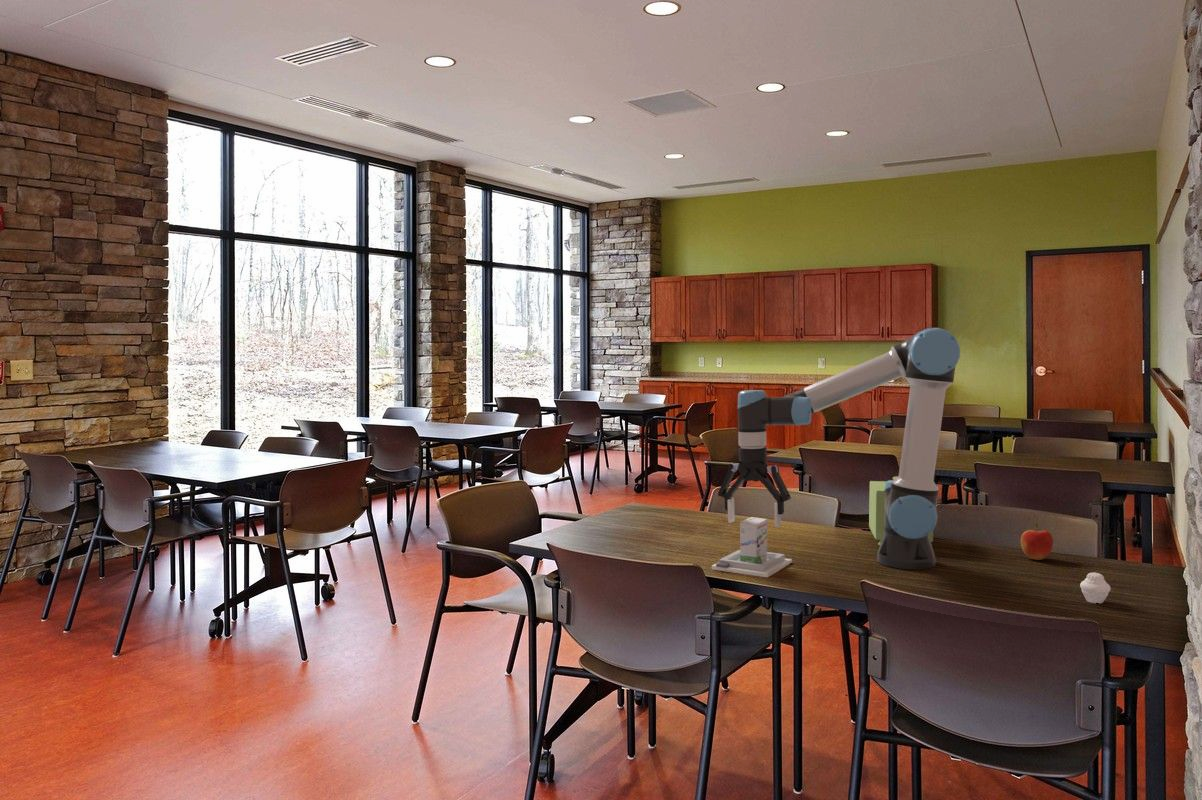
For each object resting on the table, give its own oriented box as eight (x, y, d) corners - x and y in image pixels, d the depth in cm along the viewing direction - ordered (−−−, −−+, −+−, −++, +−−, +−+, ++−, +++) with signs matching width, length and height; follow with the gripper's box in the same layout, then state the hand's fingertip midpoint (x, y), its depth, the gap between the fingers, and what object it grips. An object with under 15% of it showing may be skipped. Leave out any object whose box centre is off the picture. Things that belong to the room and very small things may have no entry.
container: (868, 533, 273) (869, 471, 272) (922, 535, 270) (923, 473, 269) (875, 547, 254) (876, 481, 253) (933, 549, 251) (934, 482, 250)
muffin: (1081, 604, 198) (1082, 574, 197) (1077, 596, 203) (1078, 567, 203) (1112, 606, 195) (1113, 576, 195) (1107, 599, 201) (1108, 570, 201)
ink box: (756, 567, 229) (756, 523, 228) (739, 564, 231) (739, 521, 231) (767, 560, 236) (768, 518, 235) (751, 558, 239) (751, 516, 238)
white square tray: (791, 562, 237) (791, 553, 237) (766, 577, 222) (767, 568, 222) (738, 555, 246) (738, 546, 246) (711, 569, 231) (711, 560, 230)
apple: (1022, 561, 237) (1023, 526, 236) (1018, 554, 244) (1019, 520, 244) (1054, 564, 234) (1055, 528, 233) (1050, 557, 241) (1051, 522, 241)
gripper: (801, 447, 228) (803, 525, 230) (716, 444, 242) (718, 518, 243) (791, 450, 222) (793, 530, 223) (705, 446, 236) (706, 522, 237)
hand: (754, 524), depth 233 cm, fingers open, 13 cm apart
